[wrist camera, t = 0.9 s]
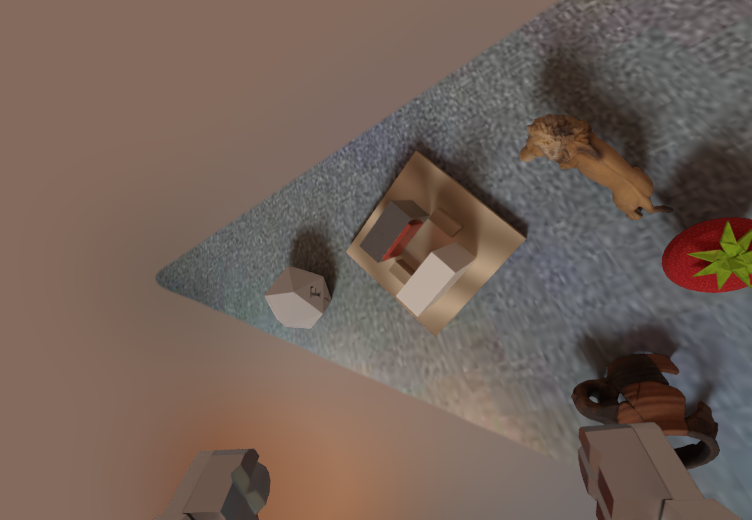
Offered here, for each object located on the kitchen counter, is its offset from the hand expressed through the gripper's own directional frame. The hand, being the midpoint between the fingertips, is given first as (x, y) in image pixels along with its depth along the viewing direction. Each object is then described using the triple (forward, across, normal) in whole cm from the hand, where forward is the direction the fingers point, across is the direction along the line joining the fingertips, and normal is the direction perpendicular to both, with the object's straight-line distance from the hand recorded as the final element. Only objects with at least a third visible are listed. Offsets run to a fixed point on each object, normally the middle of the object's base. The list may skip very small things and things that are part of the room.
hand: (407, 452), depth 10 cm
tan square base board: (+37, +1, +13) cm, 39 cm away
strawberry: (+29, -24, +14) cm, 40 cm away
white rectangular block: (+33, -1, +15) cm, 37 cm away
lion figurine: (+34, -17, +7) cm, 39 cm away
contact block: (+37, +3, +11) cm, 39 cm away
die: (+40, +18, +20) cm, 48 cm away
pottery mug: (+25, -18, +28) cm, 42 cm away
